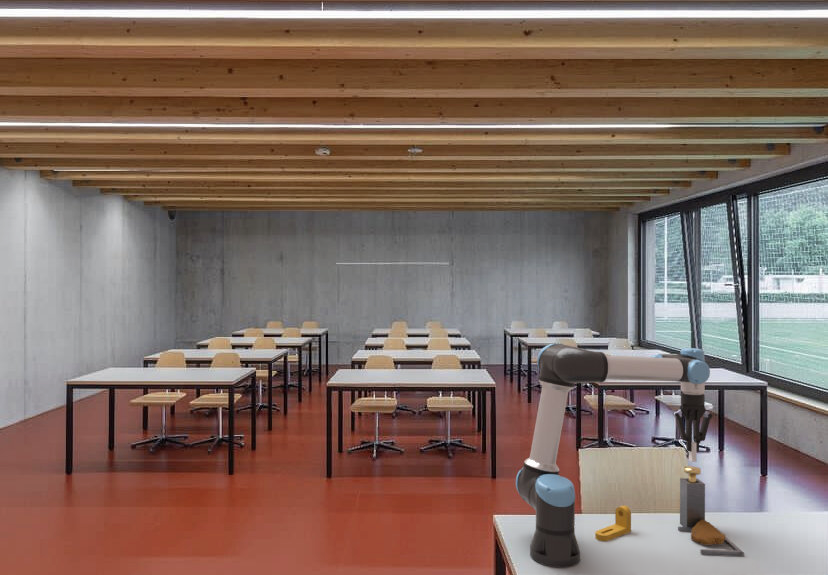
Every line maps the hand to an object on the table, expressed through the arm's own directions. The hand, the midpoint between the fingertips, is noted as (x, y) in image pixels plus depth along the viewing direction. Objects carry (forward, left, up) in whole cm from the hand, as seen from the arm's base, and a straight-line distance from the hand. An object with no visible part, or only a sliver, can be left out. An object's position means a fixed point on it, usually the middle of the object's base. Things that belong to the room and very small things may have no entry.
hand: (692, 460), depth 203 cm
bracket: (-30, -9, -24) cm, 39 cm away
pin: (0, 0, -11) cm, 11 cm away
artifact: (0, -11, -24) cm, 26 cm away
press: (0, -10, -23) cm, 25 cm away
